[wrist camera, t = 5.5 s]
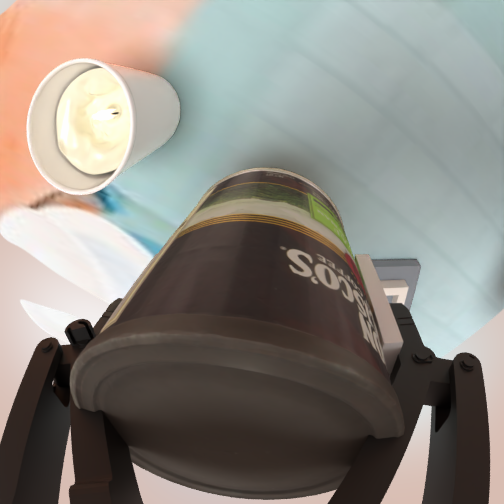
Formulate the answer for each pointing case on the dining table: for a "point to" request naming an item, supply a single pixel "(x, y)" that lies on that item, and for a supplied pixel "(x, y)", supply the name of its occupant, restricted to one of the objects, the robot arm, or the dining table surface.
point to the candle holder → (97, 122)
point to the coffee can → (246, 348)
